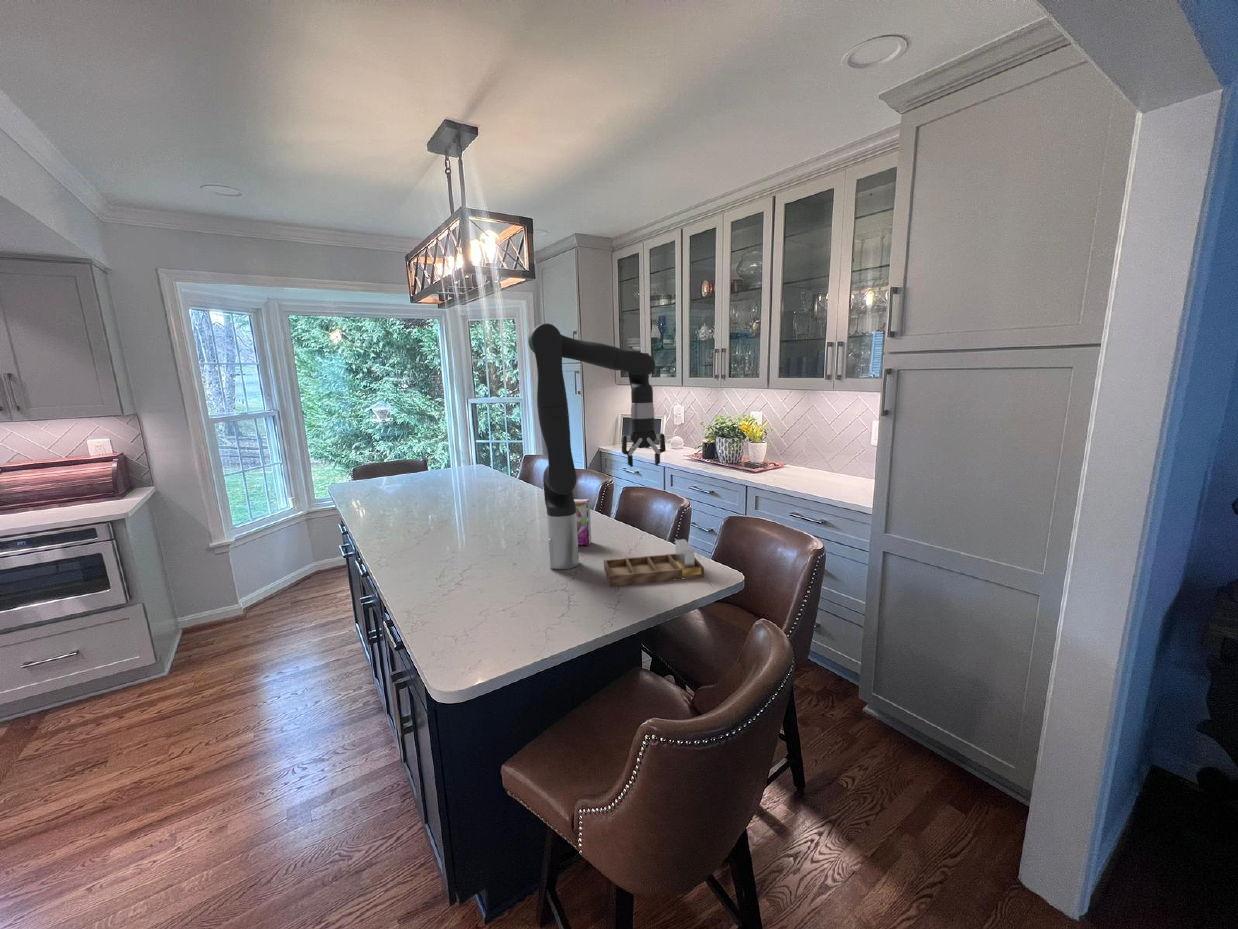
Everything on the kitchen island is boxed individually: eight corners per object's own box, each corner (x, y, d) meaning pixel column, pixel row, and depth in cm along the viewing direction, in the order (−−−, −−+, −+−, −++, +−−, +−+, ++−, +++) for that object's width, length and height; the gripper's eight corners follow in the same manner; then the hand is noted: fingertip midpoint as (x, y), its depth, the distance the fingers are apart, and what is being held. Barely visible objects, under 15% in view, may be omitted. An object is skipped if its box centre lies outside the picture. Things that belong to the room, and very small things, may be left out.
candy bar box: (559, 546, 179) (556, 502, 176) (562, 542, 184) (559, 499, 181) (589, 546, 178) (587, 501, 175) (591, 542, 183) (589, 498, 180)
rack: (610, 586, 142) (609, 576, 141) (604, 569, 155) (603, 560, 155) (704, 577, 146) (704, 567, 145) (690, 561, 160) (690, 552, 159)
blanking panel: (684, 572, 147) (684, 550, 146) (675, 561, 157) (675, 540, 156) (694, 571, 148) (694, 549, 147) (684, 560, 157) (684, 539, 156)
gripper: (622, 418, 156) (624, 469, 159) (666, 416, 159) (667, 466, 161) (619, 417, 164) (621, 465, 166) (661, 415, 166) (662, 462, 169)
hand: (644, 465), depth 164 cm, fingers open, 8 cm apart
